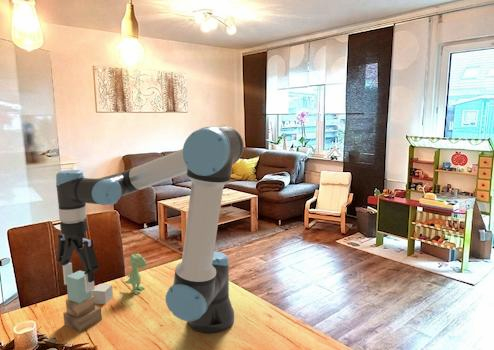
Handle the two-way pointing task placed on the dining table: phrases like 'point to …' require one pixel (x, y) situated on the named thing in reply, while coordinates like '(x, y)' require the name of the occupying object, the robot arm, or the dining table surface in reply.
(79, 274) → the teal block
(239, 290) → the dining table surface
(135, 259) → the toy
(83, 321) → the base block
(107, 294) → the block
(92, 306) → the top block
